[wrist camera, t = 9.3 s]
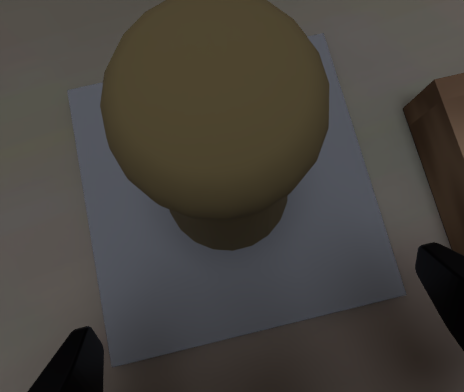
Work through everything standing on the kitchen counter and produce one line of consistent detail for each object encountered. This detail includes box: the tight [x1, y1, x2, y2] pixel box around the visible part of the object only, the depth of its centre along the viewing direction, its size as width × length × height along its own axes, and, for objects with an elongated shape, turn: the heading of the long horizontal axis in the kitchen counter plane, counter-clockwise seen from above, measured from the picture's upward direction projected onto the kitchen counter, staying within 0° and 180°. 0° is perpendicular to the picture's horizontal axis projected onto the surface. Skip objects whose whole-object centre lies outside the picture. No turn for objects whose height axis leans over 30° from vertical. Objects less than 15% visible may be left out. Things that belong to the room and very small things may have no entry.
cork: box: [100, 0, 329, 251], centre depth 12 cm, size 6×6×11 cm
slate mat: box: [67, 33, 406, 367], centre depth 18 cm, size 14×14×1 cm
